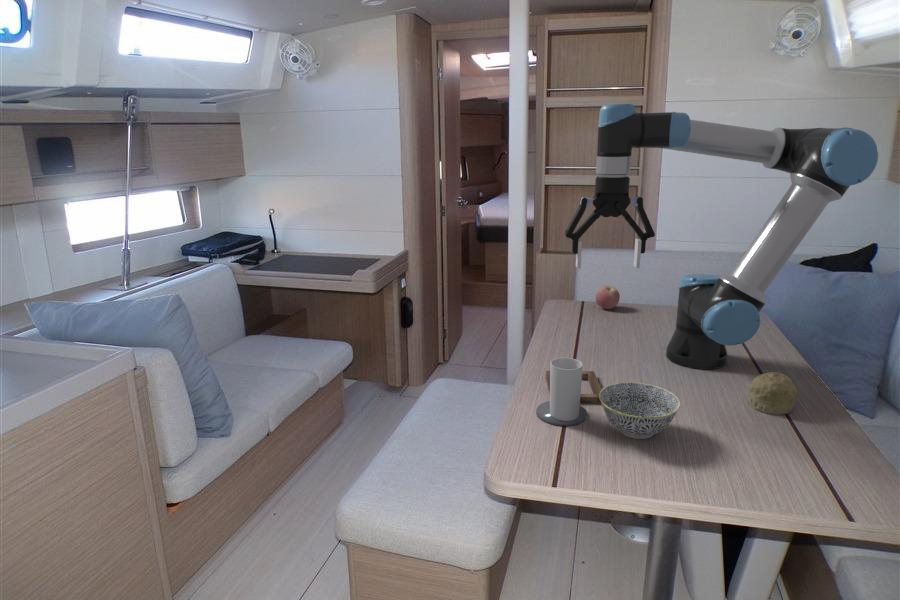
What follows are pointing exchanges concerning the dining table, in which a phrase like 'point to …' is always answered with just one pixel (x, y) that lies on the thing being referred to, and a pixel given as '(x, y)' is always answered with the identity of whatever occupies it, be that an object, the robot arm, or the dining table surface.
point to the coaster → (545, 416)
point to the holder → (593, 383)
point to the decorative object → (772, 393)
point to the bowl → (639, 408)
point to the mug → (565, 388)
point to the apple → (607, 297)
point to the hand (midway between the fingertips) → (607, 267)
